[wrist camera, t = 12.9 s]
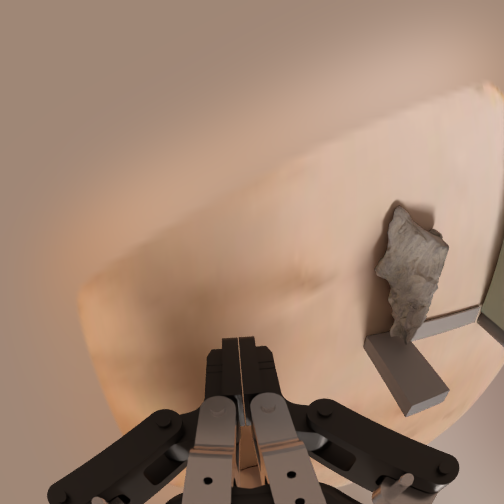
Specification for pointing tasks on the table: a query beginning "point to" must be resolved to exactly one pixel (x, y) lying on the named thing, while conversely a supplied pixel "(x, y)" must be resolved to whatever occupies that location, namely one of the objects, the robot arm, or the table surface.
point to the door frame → (419, 360)
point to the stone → (411, 272)
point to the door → (496, 294)
